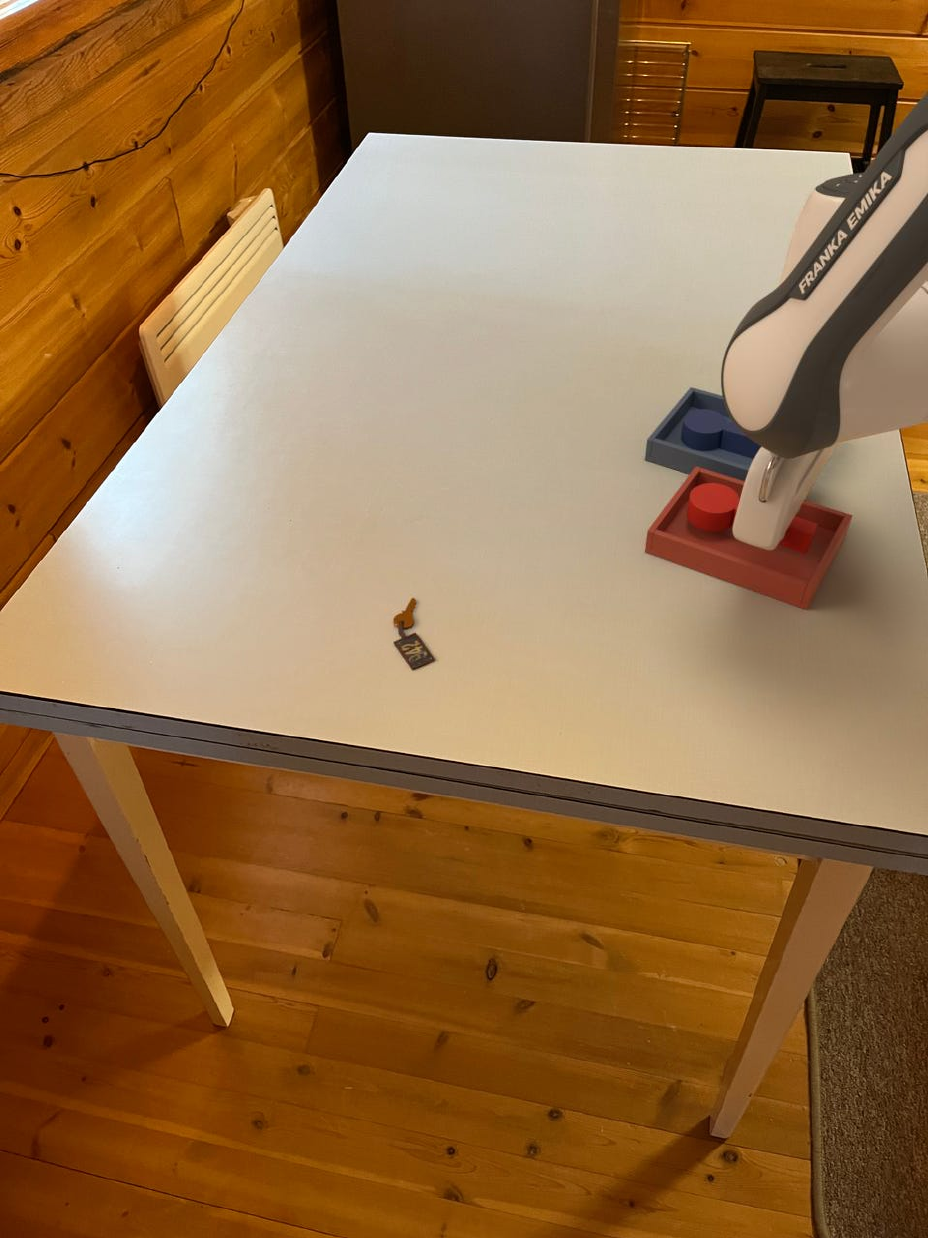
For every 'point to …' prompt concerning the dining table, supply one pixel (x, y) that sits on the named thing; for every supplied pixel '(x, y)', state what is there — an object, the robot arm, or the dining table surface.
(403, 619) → the key tag
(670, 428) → the blue tray
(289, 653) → the dining table surface
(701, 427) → the blue spoon
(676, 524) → the red tray
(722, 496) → the red spoon
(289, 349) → the dining table surface
